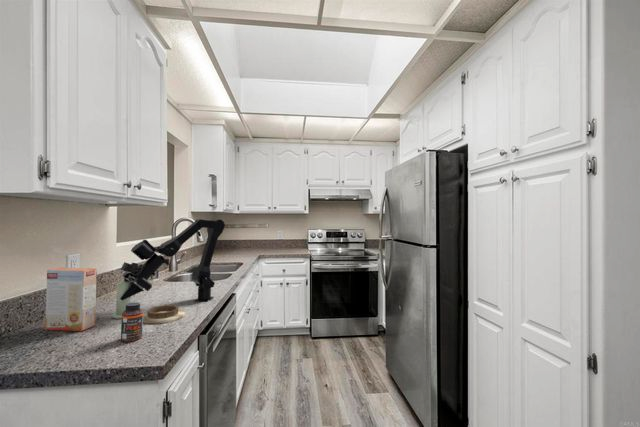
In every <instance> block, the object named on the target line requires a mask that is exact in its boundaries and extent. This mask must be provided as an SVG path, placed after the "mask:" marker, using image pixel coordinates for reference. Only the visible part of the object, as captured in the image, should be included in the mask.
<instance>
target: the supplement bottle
mask: <svg viewBox="0 0 640 427" xmlns="http://www.w3.org/2000/svg"><path fill="white" fill-rule="evenodd" d="M125 309H126V310H125V311H124V312H123V313H122V318H121V320H120V321H121V324H120V325H121V327H120V340H121V341H122V342H125V343H131V342H136V341H138V340H140V339H141V338H142V337H143V332H144V331H143V329H144V328H143V326H144V325H143V324H144V323H143V314H144V311H143V308H141V303H140V302H136V301H135V302H130V303H128V304H126V308H125Z"/></svg>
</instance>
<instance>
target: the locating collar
mask: <svg viewBox="0 0 640 427" xmlns="http://www.w3.org/2000/svg"><path fill="white" fill-rule="evenodd" d="M185 316H186V310H185V309H182V308H179V306H178V305H174V304H173V305H171V304H167V305H165V304H164V305H159V306H158V305H157V306H154V307H151V308H149V309H148V310H147V312H145V313H144V312H143V324H147V325H159V324H161V325H162V324H167V323H172V322H175V321H176V322H177V321H178V320H180V319H183V318H184V317H185Z"/></svg>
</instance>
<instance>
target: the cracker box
mask: <svg viewBox="0 0 640 427" xmlns="http://www.w3.org/2000/svg"><path fill="white" fill-rule="evenodd" d="M97 273H98V272H97V268H96V267H95V268H91V267H90V268H89V267H58V268H53V269H51V268H50V269H47V270H46V296H45V297H46V298H45V324H44V328H45V329H44V330H46V331H48V330H49V331H68V332H70V331H71V332H82V331H83V332H84V331H85V330H88V329H90V328H93V327H96V313H97V312H96V311H97V310H96V309H97V308H96V305H97Z"/></svg>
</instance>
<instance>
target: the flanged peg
mask: <svg viewBox="0 0 640 427" xmlns="http://www.w3.org/2000/svg"><path fill="white" fill-rule="evenodd" d="M129 286H130V282H124V281H119V282H116V302H115V305H116V306H115V312H113V313H112V315H111V318H112V319H117V320H120V319H121V320H122V313H123V312H124V311H125V310H126V309H125V308H126V304H128V303H131V297H129V298H126V299H124V300H121V299H120V298H121V297H122V295H123V294H124V293H125V291H126V290H127V289H128V288H129Z"/></svg>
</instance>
